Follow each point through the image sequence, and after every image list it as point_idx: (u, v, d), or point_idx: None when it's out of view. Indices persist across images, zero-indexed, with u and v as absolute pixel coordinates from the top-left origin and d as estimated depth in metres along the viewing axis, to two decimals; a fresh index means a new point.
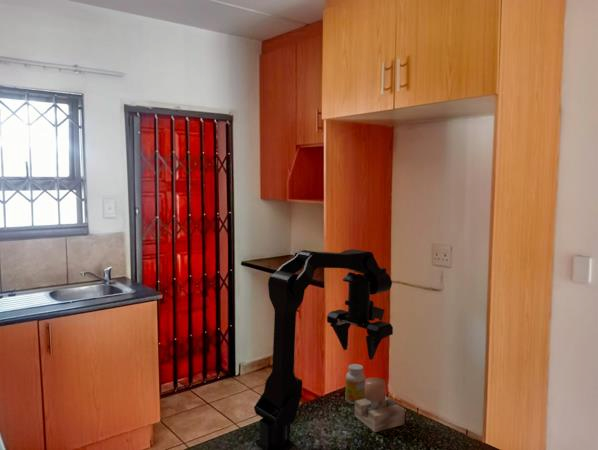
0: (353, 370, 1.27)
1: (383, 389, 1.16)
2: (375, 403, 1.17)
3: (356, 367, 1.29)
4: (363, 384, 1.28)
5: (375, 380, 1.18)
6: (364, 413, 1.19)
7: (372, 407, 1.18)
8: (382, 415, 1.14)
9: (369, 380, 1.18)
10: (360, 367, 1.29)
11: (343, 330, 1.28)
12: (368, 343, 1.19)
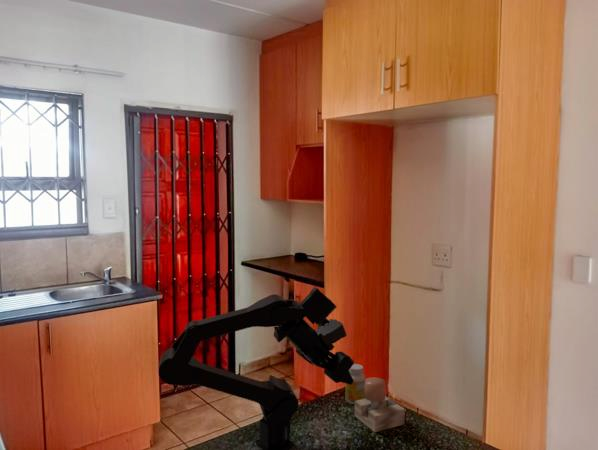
0: (353, 370, 1.27)
1: (383, 389, 1.16)
2: (375, 403, 1.17)
3: (356, 367, 1.29)
4: (363, 384, 1.28)
5: (375, 380, 1.18)
6: (364, 413, 1.19)
7: (372, 407, 1.18)
8: (382, 415, 1.14)
9: (369, 380, 1.18)
10: (360, 367, 1.29)
11: None
12: None
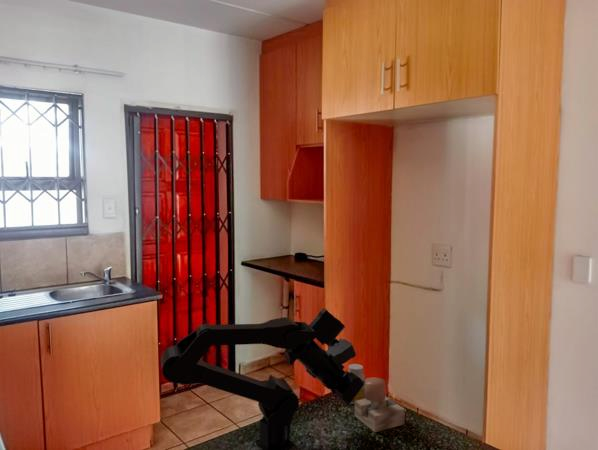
0: (353, 370, 1.27)
1: (383, 389, 1.16)
2: (375, 403, 1.17)
3: (356, 367, 1.29)
4: None
5: (375, 380, 1.18)
6: (364, 413, 1.19)
7: (372, 407, 1.18)
8: (382, 415, 1.14)
9: (369, 380, 1.18)
10: (360, 367, 1.29)
11: None
12: None
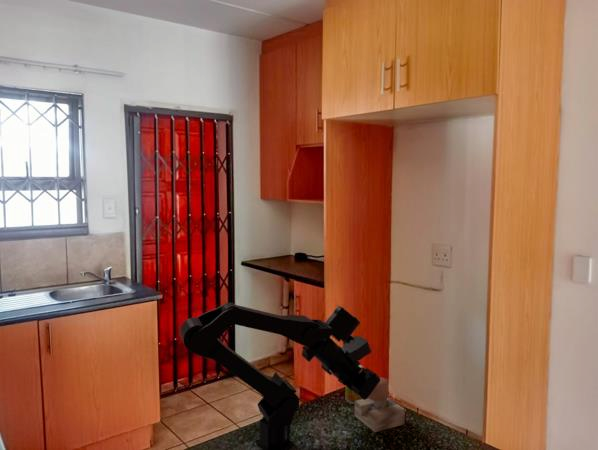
0: None
1: (386, 388, 1.16)
2: (378, 402, 1.18)
3: None
4: None
5: None
6: (364, 413, 1.19)
7: (375, 406, 1.18)
8: (382, 415, 1.14)
9: None
10: (360, 367, 1.29)
11: None
12: None
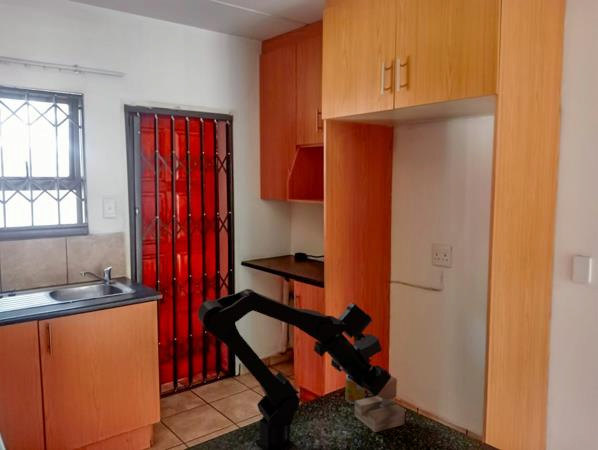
0: None
1: (395, 386, 1.18)
2: (386, 400, 1.19)
3: None
4: None
5: None
6: (364, 413, 1.19)
7: (383, 404, 1.19)
8: (382, 415, 1.14)
9: None
10: None
11: None
12: None
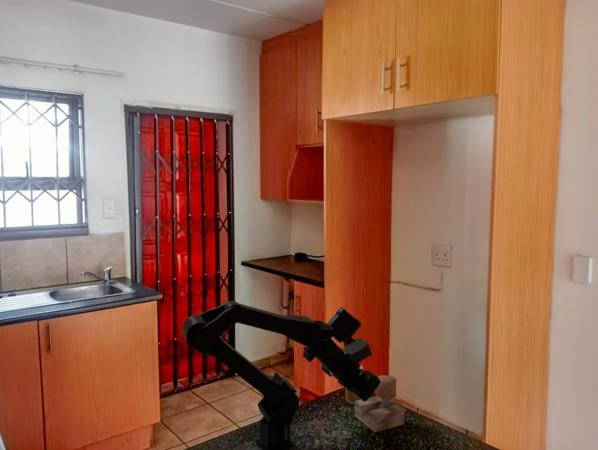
0: None
1: (394, 386, 1.18)
2: (386, 400, 1.19)
3: None
4: None
5: (386, 378, 1.20)
6: (364, 413, 1.19)
7: (383, 404, 1.19)
8: (382, 415, 1.14)
9: (380, 378, 1.20)
10: (360, 367, 1.29)
11: None
12: None
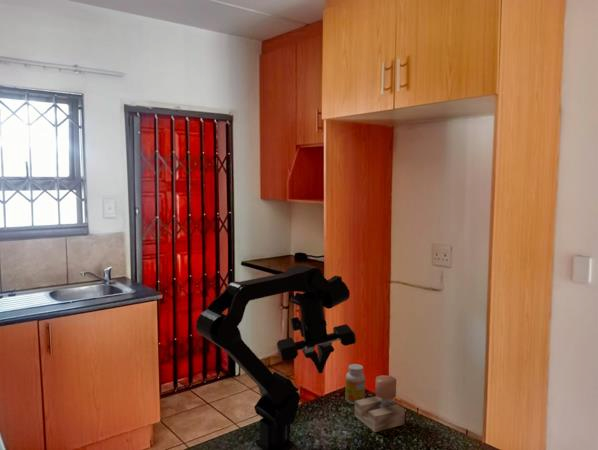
0: (353, 370, 1.27)
1: (394, 386, 1.18)
2: (386, 400, 1.19)
3: (356, 367, 1.29)
4: (363, 384, 1.28)
5: (386, 378, 1.20)
6: (364, 413, 1.19)
7: (383, 404, 1.19)
8: (382, 415, 1.14)
9: (380, 378, 1.20)
10: (360, 367, 1.29)
11: None
12: (325, 358, 1.13)
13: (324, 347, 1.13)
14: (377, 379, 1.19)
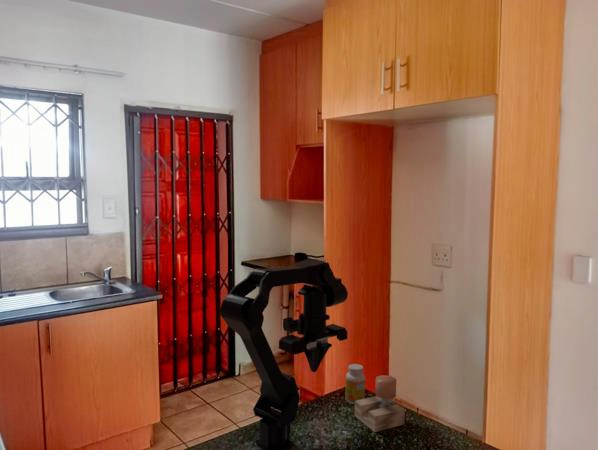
0: (353, 370, 1.27)
1: (394, 386, 1.18)
2: (386, 400, 1.19)
3: (356, 367, 1.29)
4: (363, 384, 1.28)
5: (386, 378, 1.20)
6: (364, 413, 1.19)
7: (383, 404, 1.19)
8: (382, 415, 1.14)
9: (380, 378, 1.20)
10: (360, 367, 1.29)
11: None
12: (323, 353, 1.16)
13: (322, 343, 1.16)
14: (377, 379, 1.19)
